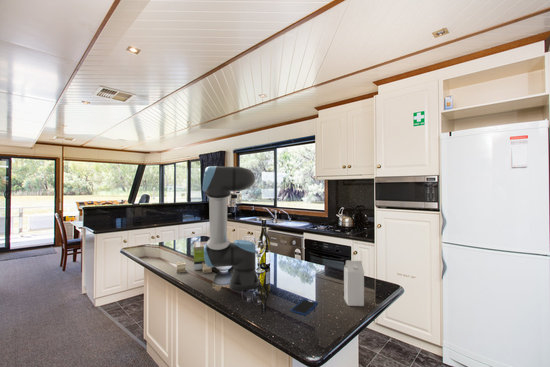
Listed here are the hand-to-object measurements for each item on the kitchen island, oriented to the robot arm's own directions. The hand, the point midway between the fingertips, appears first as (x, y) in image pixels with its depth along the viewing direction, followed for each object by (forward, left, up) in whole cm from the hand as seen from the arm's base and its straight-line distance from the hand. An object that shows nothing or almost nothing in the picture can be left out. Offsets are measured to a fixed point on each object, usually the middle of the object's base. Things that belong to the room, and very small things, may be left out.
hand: (220, 227), depth 167 cm
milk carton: (-72, -48, -26) cm, 91 cm away
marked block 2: (-4, +9, -26) cm, 28 cm away
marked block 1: (+2, +24, -26) cm, 35 cm away
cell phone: (-68, -25, -27) cm, 78 cm away
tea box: (+8, +11, -26) cm, 29 cm away
